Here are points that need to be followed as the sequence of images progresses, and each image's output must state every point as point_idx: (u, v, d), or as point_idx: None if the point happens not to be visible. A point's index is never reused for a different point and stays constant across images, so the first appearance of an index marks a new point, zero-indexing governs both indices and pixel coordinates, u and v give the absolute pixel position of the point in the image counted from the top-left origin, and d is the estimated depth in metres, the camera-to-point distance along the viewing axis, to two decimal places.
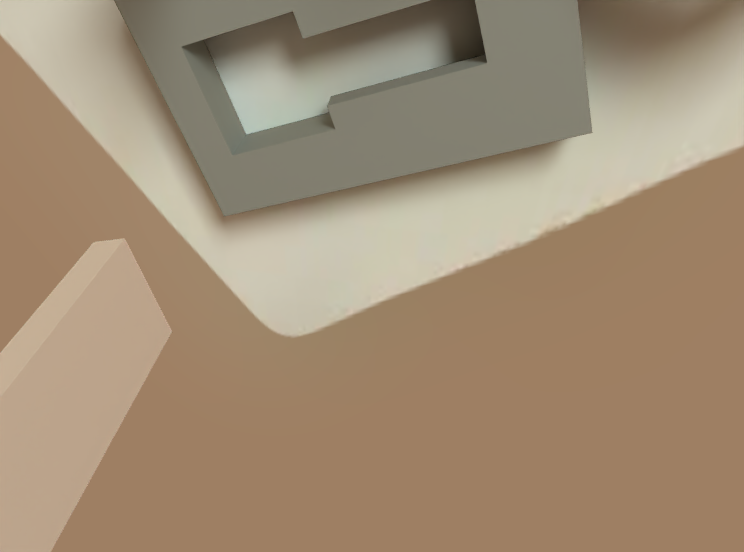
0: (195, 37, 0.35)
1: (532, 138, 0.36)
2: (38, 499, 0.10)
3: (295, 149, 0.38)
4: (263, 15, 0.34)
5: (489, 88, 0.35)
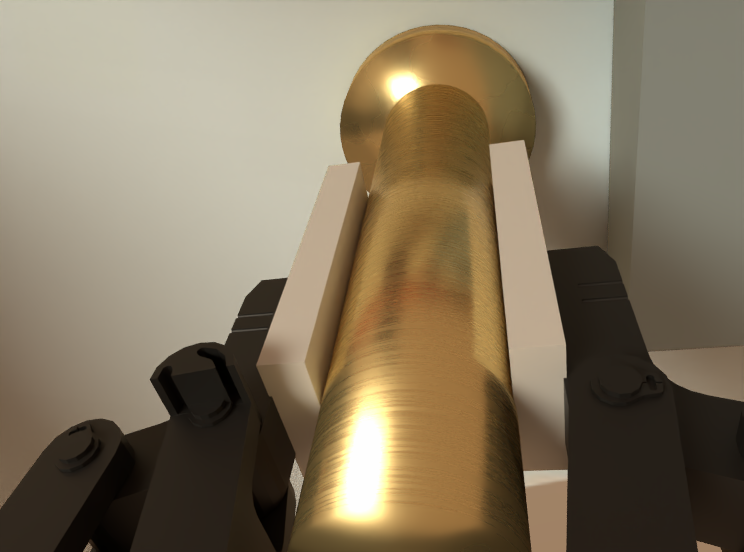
0: None
1: None
2: None
3: None
4: None
5: None
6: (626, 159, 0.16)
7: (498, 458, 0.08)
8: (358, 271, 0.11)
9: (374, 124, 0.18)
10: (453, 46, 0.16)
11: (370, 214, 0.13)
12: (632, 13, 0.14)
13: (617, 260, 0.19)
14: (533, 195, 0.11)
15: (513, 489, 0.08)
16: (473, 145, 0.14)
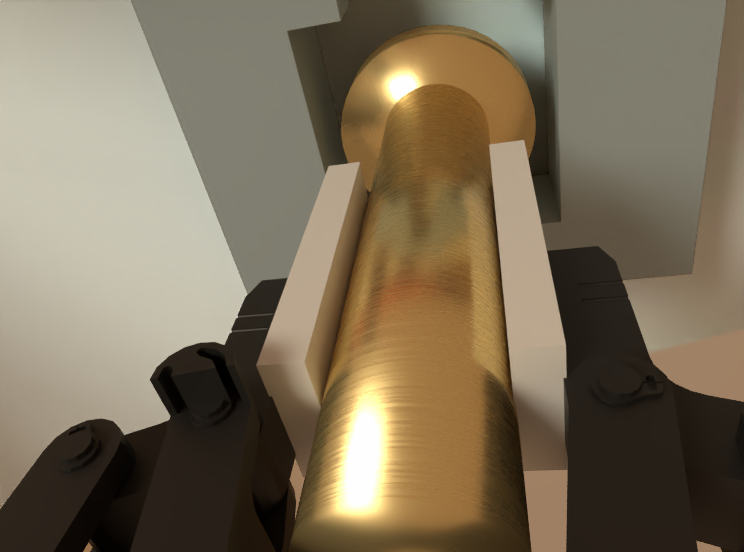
0: None
1: None
2: None
3: (581, 90, 0.17)
4: (295, 92, 0.18)
5: None
6: None
7: (498, 455, 0.08)
8: (359, 269, 0.11)
9: (375, 123, 0.18)
10: (453, 46, 0.16)
11: (371, 213, 0.13)
12: None
13: None
14: (533, 195, 0.11)
15: (513, 484, 0.08)
16: (474, 144, 0.15)
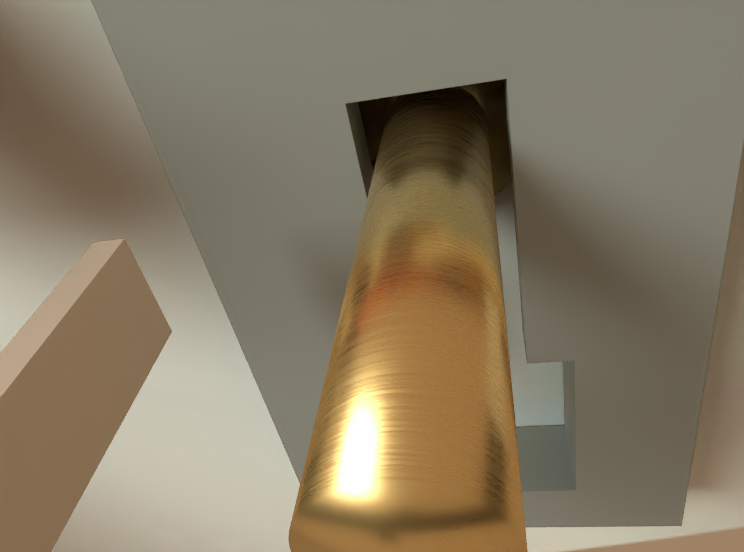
0: None
1: None
2: (38, 499, 0.10)
3: (593, 418, 0.21)
4: None
5: (568, 75, 0.15)
6: None
7: (494, 440, 0.08)
8: (358, 262, 0.11)
9: (374, 120, 0.18)
10: None
11: (370, 207, 0.13)
12: None
13: None
14: None
15: (507, 468, 0.08)
16: (472, 141, 0.15)
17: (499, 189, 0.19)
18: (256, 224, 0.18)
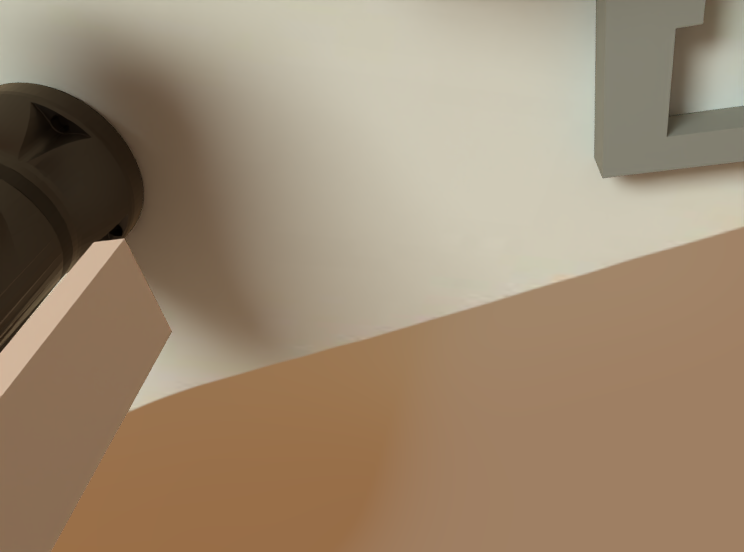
0: (663, 122, 0.40)
1: None
2: (38, 499, 0.10)
3: None
4: (669, 57, 0.38)
5: None
6: (601, 88, 0.40)
7: None
8: None
9: None
10: None
11: None
12: (601, 29, 0.38)
13: (598, 137, 0.43)
14: None
15: None
16: None
17: None
18: None
